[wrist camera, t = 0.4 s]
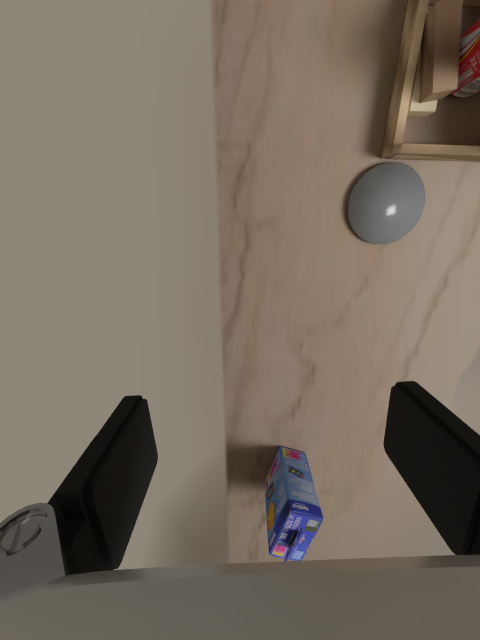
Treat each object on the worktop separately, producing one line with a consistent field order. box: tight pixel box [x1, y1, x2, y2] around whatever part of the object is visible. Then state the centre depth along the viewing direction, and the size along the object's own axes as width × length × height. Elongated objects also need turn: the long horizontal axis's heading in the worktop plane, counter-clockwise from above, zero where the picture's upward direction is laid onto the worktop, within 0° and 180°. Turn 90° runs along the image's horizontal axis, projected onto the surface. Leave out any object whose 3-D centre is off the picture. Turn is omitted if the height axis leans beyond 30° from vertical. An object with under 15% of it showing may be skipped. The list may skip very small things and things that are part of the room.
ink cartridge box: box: [265, 446, 323, 561], centre depth 43 cm, size 10×6×14 cm, turn 164°
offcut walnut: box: [419, 0, 463, 103], centre depth 28 cm, size 8×3×2 cm, turn 10°
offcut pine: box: [407, 10, 438, 118], centre depth 30 cm, size 9×3×2 cm, turn 0°
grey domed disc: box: [347, 162, 425, 244], centre depth 35 cm, size 10×10×1 cm
